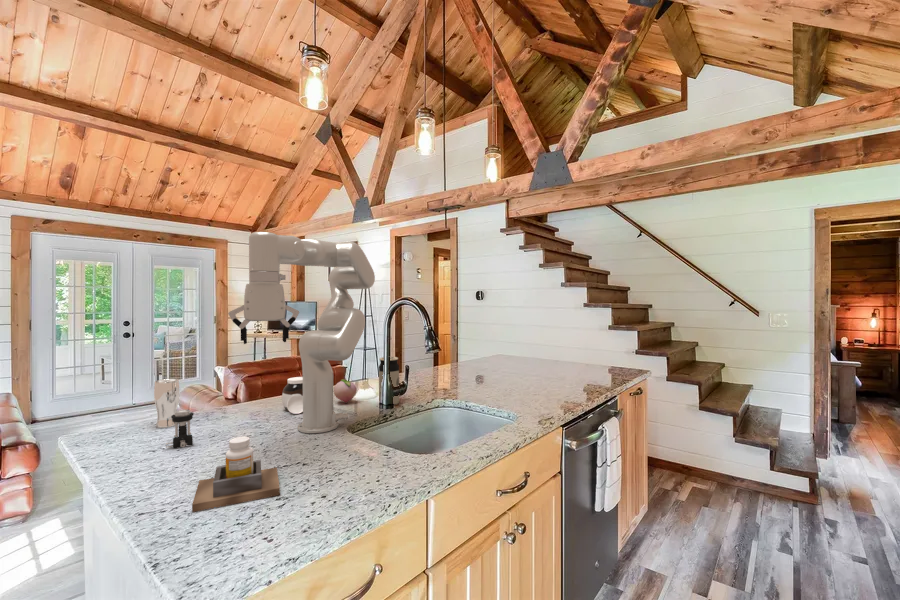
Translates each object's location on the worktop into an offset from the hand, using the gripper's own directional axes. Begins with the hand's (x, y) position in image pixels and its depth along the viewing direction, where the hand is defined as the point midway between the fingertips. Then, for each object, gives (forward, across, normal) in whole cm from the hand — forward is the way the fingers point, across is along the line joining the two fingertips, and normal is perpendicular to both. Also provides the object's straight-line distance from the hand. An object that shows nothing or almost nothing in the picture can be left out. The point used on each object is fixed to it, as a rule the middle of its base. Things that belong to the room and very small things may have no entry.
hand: (265, 342), depth 111 cm
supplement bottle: (+29, +6, +20) cm, 36 cm away
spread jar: (+31, -12, -43) cm, 54 cm away
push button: (+31, +22, -18) cm, 42 cm away
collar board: (+30, +6, +20) cm, 37 cm away
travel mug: (+31, -46, -38) cm, 67 cm away
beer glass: (+31, +29, -43) cm, 60 cm away
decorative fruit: (+31, -30, -46) cm, 63 cm away
